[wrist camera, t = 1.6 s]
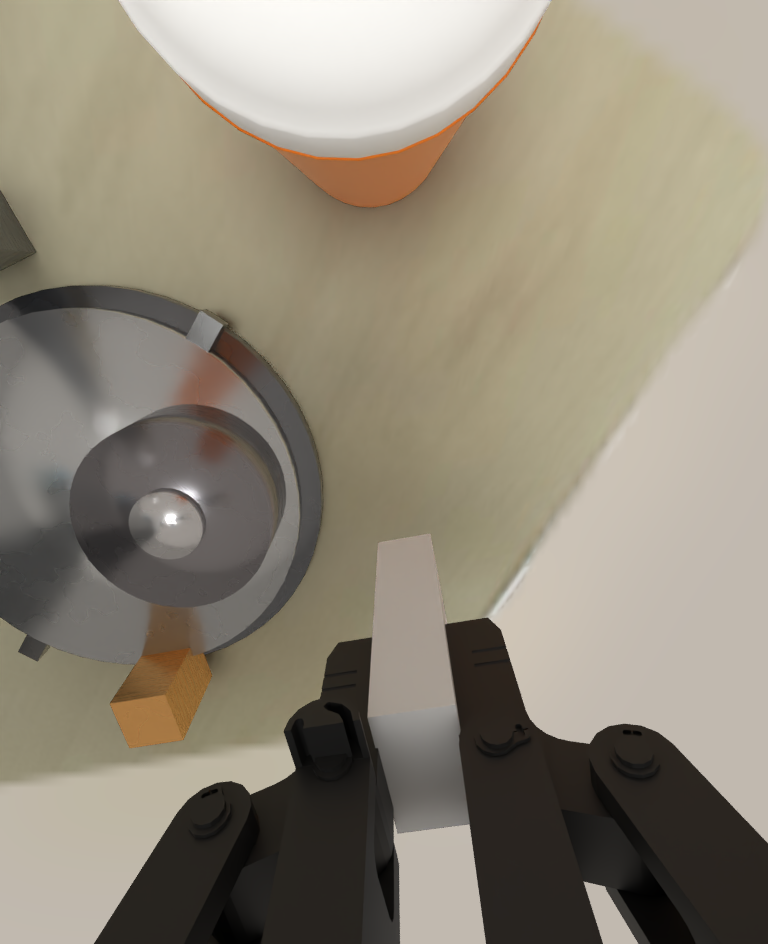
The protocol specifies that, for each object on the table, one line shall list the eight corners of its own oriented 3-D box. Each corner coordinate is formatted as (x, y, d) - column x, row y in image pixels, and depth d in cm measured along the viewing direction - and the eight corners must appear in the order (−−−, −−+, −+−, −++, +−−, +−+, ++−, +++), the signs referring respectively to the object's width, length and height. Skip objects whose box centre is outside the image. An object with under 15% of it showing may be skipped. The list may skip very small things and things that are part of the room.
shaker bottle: (463, 226, 26) (651, 84, 8) (279, 231, 27) (10, 104, 8) (468, 0, 23) (796, -1164, 5) (262, 7, 24) (-245, -1092, 5)
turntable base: (27, 675, 35) (17, 686, 34) (-144, 333, 28) (-162, 335, 27) (359, 620, 34) (358, 630, 33) (265, 243, 27) (260, 242, 26)
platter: (37, 704, 34) (-19, 770, 30) (-140, 351, 27) (-250, 366, 23) (346, 654, 33) (339, 715, 28) (244, 268, 26) (212, 265, 21)
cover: (146, 578, 30) (105, 628, 26) (85, 422, 27) (28, 449, 23) (304, 550, 29) (290, 597, 25) (259, 388, 27) (234, 408, 22)
